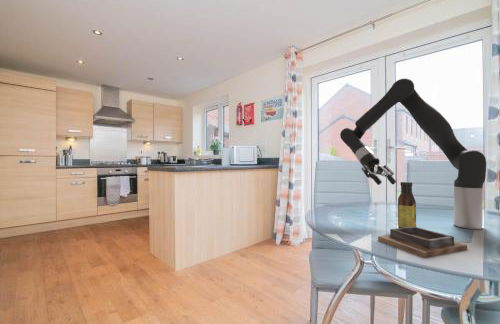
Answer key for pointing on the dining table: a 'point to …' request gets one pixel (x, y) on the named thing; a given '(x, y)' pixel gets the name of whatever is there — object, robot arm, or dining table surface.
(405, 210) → the sauce bottle
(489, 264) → the dining table surface
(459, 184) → the robot arm
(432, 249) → the walnut dock board
